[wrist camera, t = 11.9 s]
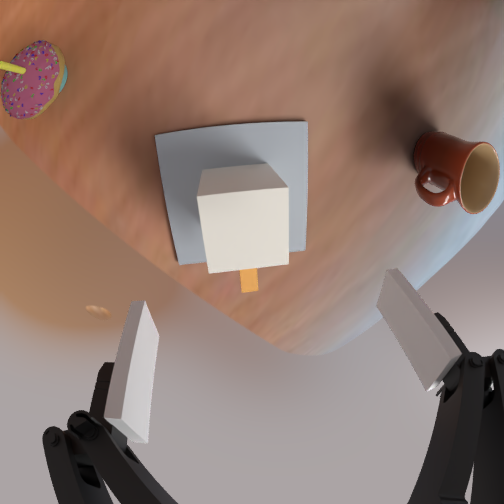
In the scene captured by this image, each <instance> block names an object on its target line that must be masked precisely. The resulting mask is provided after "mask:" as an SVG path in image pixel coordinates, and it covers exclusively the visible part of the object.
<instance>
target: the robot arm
mask: <svg viewBox="0 0 504 504" xmlns="http://www.w3.org/2000/svg"><path fill="white" fill-rule="evenodd" d="M377 308H378V309H379V311H380V312H381V314H382V316H383V317H384V319H385V320H386V322H387V324H388V325H389V327H390V328H391V330H392V332H393V333H394V335H395V337H396V338H397V340H398V342H399V344H400V345H401V347H402V349H403V350H404V352H405V354H406V356H407V357H408V359H409V360H410V362H411V364H412V366H413V368H414V370H415V372H416V373H417V375H418V377H419V379H420V381H421V383H422V385H423V386H424V388H425V390H426V391H429V390H431V389H433V388H435V387H437V386H438V384H439V383H440V382H441V381H442V380H443V382H444V385H443V386H442V387H441V388H440V390H439V391H438V392H437V394H436V396H438V395H439V394H440V393H441V396H440V397H441V398H440V403H439V408H438V412H437V417H436V421H435V426H434V430H433V433H432V437H431V441H430V444H429V447H428V451H427V454H426V457H425V460H424V463H423V466H422V469H421V472H420V475H419V477H418V480H417V482H416V485H415V487H414V490H413V492H412V495H411V497H410V500H409V502H408V503H407V504H468V502H467V501H466V500H465V497H464V496H465V492H466V489H467V486H468V482H469V479H470V475H471V471H472V467H473V463H474V471H473V484H472V494H471V502H470V504H504V350H502V349H497V350H496V351H495V352H494V353H493V355H492V356H487V357H481V356H480V355H479V354H477V353H476V352H469V351H468V349H467V348H466V346H465V345H464V343H463V342H462V341H461V339H460V338H459V336H458V335H457V334H456V332H454V329H453V328H452V327H451V326H450V324H449V323H448V321H447V320H446V319H445V318H444V317H443V316H442V315H440V314H439V313H433V312H432V311H431V310H430V308H429V307H428V306H427V304H426V303H425V302H424V300H423V299H422V298H421V297H420V295H419V294H418V293H417V292H416V290H415V289H414V288H413V287H412V285H411V284H410V283H409V282H408V280H407V279H406V278H405V277H404V276H403V274H402V273H401V272H400V271H399V270H398V269H397V268H395V269H390V270H387V271H386V274H385V278H384V282H383V285H382V289H381V292H380V296H379V299H378V302H377ZM158 341H159V334H158V332H157V329H156V327H155V324H154V322H153V320H152V317H151V315H150V312H149V310H148V307H147V305H146V302H145V301H132V302H131V305H130V308H129V312H128V315H127V318H126V322H125V326H124V329H123V333H122V336H121V340H120V344H119V348H118V352H117V356H116V360H115V363H112V362H105V363H104V364H103V366H102V367H101V369H100V370H99V373H98V377H97V382H96V385H95V390H94V393H93V398H92V402H91V407H90V412H89V413H88V412H86V411H84V410H79V411H76V412H74V413H73V414H72V415H71V416H70V418H69V419H68V423H67V427H68V430H66V431H62V430H61V429H60V428H57V427H55V426H53V427H49V428H47V429H46V430H45V432H44V434H43V446H44V451H45V456H46V461H47V465H48V469H49V473H50V477H51V480H52V484H53V487H54V490H55V494H56V497H57V500H58V503H59V504H113V502H112V500H111V498H110V495H109V493H108V491H107V488H106V486H105V483H104V481H105V482H106V484H107V485H108V487H109V488H110V490H111V491H112V492H113V494H114V495H115V496H116V498H117V499H118V501H119V502H120V503H121V504H178V503H177V502H176V501H175V500H174V499H173V498H172V497H171V496H170V495H169V494H168V493H167V492H166V491H165V490H164V489H163V488H162V486H161V485H160V484H159V483H158V482H157V481H156V480H155V479H154V478H153V476H152V475H151V474H150V473H149V472H148V470H147V469H146V468H145V467H144V466H143V464H142V463H141V462H140V460H139V459H138V458H137V457H136V455H135V454H134V453H133V451H132V450H131V449H130V447H129V446H128V445H127V438H128V439H129V440H131V441H132V442H139V443H148V433H149V421H150V409H151V398H152V388H153V379H154V371H155V363H156V355H157V348H158ZM492 385H493V386H494V390H493V391H492V388H491V386H492ZM103 479H104V481H103Z"/></svg>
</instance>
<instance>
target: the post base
mask: <svg viewBox="0 0 504 504" xmlns="http://www.w3.org/2000/svg"><path fill="white" fill-rule="evenodd" d="M155 141H156V147H157V154H158V161H159V167H160V173H161V179H162V185H163V190H164V196H165V201H166V206H167V211H168V216H169V221H170V226H171V231H172V235H173V240H174V244H175V249H176V253H177V257H178V262H179V265H183V264H192V263H200V262H207V259H206V253H205V247H204V241H203V235H202V228H201V222H200V215H199V209H198V202H197V193H198V188H199V183H200V178H201V173H202V170H204V169H212V168H221V167H231V166H241V165H252V164H265V163H268V164H269V165H270V166H271V167H272V169H273V170H274V171H275V172H276V173H277V174H278V175H279V177H280V178H281V179H282V180H283V181H284V182H285V184H286V185H287V186H288V187H289V252H295V251H304V250H305V247H306V225H307V191H308V122H307V121H285V122H260V123H244V124H232V125H221V126H212V127H204V128H196V129H189V130H182V131H175V132H169V133H163V134H158V135H155Z"/></svg>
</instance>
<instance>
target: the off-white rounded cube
mask: <svg viewBox="0 0 504 504" xmlns="http://www.w3.org/2000/svg"><path fill="white" fill-rule="evenodd" d="M197 202H198V209H199V215H200V222H201V228H202V235H203V241H204V247H205V253H206V259H207V265H208V270H209V273H218V272H226V271H235V270H239V273H240V283H241V289H242V293H243V292H251V291H258V278H257V268H260V267H269V266H277V265H285V264H289V187H288V186H287V185H286V184H285V182H284V181H283V180H282V179H281V178H280V177H279V175H278V174H277V173H276V172H275V171H274V170H273V169H272V167H271V166H270V165H269V164H268V163H265V164H252V165H241V166H231V167H221V168H212V169H204V170H202V173H201V178H200V183H199V188H198V193H197Z"/></svg>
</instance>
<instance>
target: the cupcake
mask: <svg viewBox="0 0 504 504" xmlns="http://www.w3.org/2000/svg"><path fill="white" fill-rule="evenodd" d="M0 69H3V70H7V71H6V73H5V76H4V77H3V78H4V79H3V81H2V88H1V93H0V94H1V97H2V101H3V105H4V108H5V109H6V111H7V112H8V113H9V114H10V117H11V116H13V117H15V118H17V119H33V118H36V117H37V116H39V115H40V114H41V113H42V112H44V111H45V110H46V109H47V108H48V107H49V106H50V104H51V103H52V102H53V101H54V100H55V99H56V98H57V97H58V94H59V93H60V91H61V90H62V89H63V87H64V85H65V83H66V80H67V67H66V65H65V60H64V56H63V55H62V52H61V50H60V48H58V47H57V46H55V45H53V44H51V43H48V42H47V41H44V40H42V41H38V42H34V43H33V44H31V45H29V46H28V47H26V48H25V49H24V50H23V49H22V50H21V52H19V53H18V54H16V56H15V58H14V59H13V60H12V61H11V62H10V63H7V62H3V61H0Z"/></svg>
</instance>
